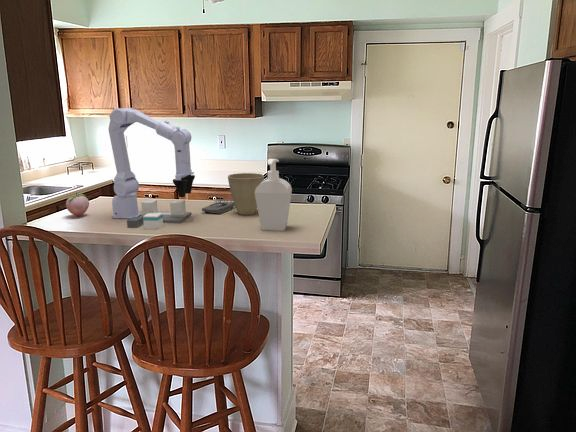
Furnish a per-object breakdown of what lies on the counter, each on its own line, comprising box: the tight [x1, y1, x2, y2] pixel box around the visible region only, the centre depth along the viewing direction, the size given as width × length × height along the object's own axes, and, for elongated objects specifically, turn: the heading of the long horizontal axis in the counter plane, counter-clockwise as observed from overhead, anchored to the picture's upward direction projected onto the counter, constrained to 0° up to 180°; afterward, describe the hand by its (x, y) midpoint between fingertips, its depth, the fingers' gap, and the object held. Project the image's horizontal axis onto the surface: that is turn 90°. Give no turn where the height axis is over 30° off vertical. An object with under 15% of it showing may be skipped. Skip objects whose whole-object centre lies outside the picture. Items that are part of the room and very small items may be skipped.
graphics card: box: [201, 198, 236, 215], centre depth 208 cm, size 17×4×12 cm
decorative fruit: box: [65, 192, 90, 217], centre depth 199 cm, size 9×8×10 cm
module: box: [143, 213, 164, 230], centre depth 181 cm, size 6×5×5 cm
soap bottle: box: [255, 158, 293, 232], centre depth 174 cm, size 12×10×26 cm
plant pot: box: [227, 172, 264, 216], centre depth 200 cm, size 15×15×16 cm
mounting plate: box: [140, 199, 192, 224], centre depth 194 cm, size 18×14×7 cm
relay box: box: [126, 216, 144, 229], centre depth 184 cm, size 4×6×3 cm, turn 174°
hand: (185, 195), depth 190 cm, fingers open, 7 cm apart
